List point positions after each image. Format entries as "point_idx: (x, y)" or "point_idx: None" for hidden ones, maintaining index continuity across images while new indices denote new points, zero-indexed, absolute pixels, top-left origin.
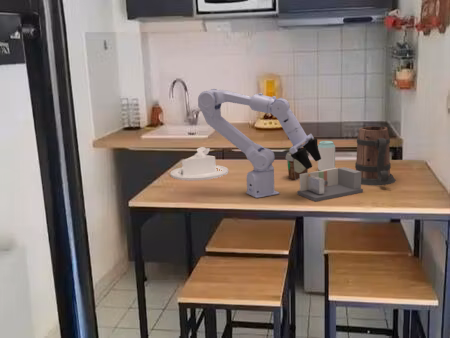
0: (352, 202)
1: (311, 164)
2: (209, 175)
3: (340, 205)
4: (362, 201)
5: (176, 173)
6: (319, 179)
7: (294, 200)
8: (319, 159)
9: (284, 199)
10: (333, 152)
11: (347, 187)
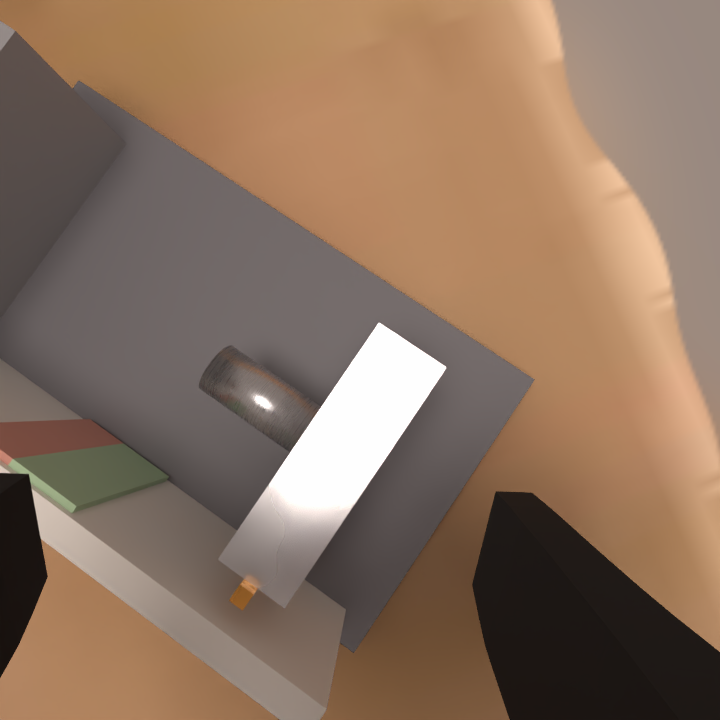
0: (423, 86)
1: (530, 514)
2: None
3: (545, 148)
4: (365, 23)
5: None
6: (421, 373)
7: None
8: (30, 499)
9: None
10: None
11: (70, 223)
